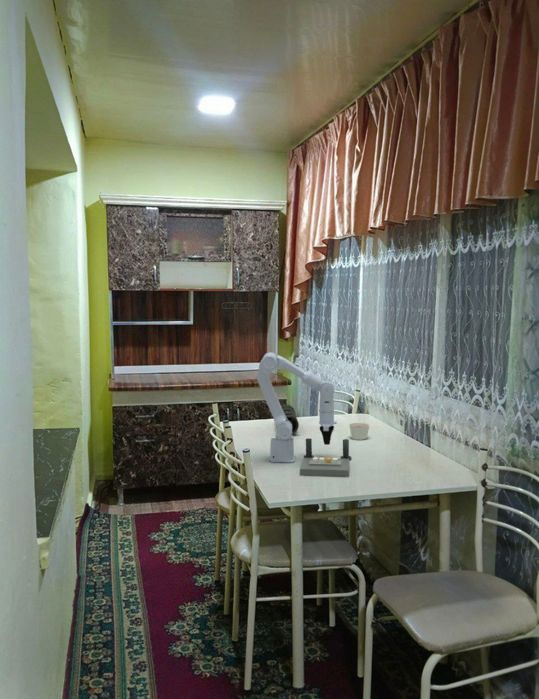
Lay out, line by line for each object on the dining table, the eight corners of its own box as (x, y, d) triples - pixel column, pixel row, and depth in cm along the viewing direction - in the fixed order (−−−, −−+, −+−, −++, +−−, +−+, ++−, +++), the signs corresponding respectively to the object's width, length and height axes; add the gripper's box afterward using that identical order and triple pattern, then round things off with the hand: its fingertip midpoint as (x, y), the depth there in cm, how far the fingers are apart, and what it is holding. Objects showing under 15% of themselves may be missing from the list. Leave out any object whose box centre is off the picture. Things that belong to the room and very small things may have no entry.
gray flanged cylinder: (303, 459, 235) (302, 440, 234) (304, 456, 239) (303, 437, 239) (313, 460, 234) (313, 440, 234) (314, 456, 239) (314, 437, 238)
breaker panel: (300, 475, 216) (299, 463, 215) (303, 464, 229) (303, 452, 229) (348, 476, 213) (348, 464, 212) (349, 465, 227) (349, 453, 226)
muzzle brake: (279, 437, 271) (278, 415, 270) (276, 423, 299) (276, 403, 298) (299, 436, 272) (299, 415, 270) (294, 422, 299) (294, 403, 298)
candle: (367, 441, 261) (367, 427, 260) (347, 440, 263) (347, 426, 263) (370, 436, 269) (370, 423, 268) (351, 435, 272) (351, 422, 271)
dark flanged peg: (340, 460, 233) (340, 441, 232) (340, 457, 237) (340, 438, 236) (351, 461, 232) (351, 441, 231) (351, 457, 237) (351, 438, 236)
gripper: (336, 415, 225) (336, 449, 226) (337, 407, 239) (337, 439, 240) (318, 415, 226) (318, 449, 227) (320, 407, 240) (320, 439, 241)
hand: (327, 444), depth 234 cm, fingers closed
